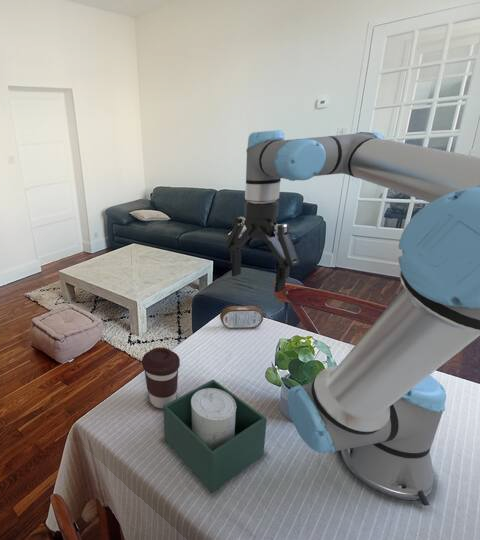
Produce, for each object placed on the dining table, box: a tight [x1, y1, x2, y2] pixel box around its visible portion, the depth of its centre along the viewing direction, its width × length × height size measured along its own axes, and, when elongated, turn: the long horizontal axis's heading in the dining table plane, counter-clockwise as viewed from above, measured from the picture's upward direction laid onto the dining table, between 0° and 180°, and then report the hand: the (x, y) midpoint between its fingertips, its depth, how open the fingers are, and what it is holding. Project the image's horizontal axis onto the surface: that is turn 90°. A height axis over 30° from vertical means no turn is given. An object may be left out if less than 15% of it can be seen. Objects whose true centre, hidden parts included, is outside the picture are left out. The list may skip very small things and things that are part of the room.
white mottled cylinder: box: [191, 388, 236, 451], centre depth 76 cm, size 10×10×12 cm
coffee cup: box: [141, 346, 181, 409], centre depth 91 cm, size 10×10×15 cm
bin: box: [162, 379, 268, 494], centre depth 76 cm, size 16×16×11 cm
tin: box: [219, 305, 264, 329], centre depth 123 cm, size 15×3×8 cm, turn 84°
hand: (256, 282), depth 88 cm, fingers open, 13 cm apart
